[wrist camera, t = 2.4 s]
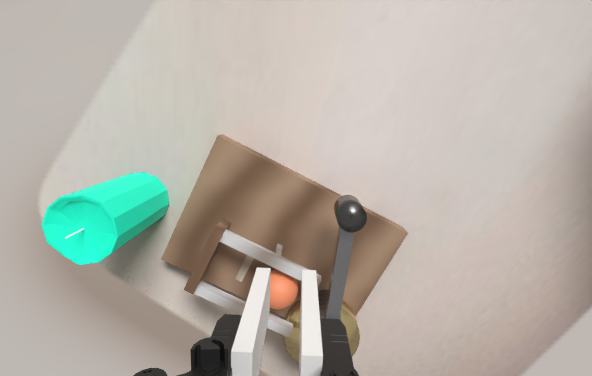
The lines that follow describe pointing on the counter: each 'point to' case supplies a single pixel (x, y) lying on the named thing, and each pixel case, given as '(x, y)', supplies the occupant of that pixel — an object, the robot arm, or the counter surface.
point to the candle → (104, 216)
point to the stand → (269, 232)
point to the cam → (335, 278)
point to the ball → (282, 290)
